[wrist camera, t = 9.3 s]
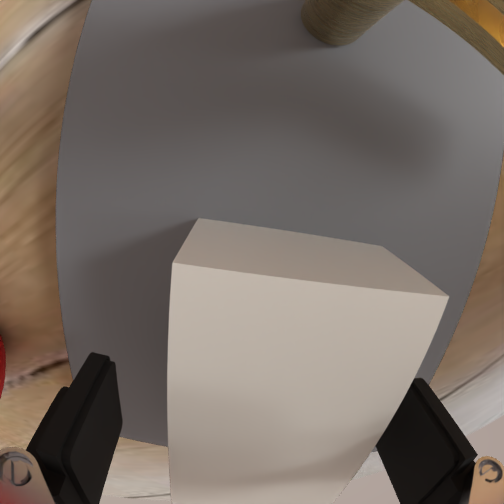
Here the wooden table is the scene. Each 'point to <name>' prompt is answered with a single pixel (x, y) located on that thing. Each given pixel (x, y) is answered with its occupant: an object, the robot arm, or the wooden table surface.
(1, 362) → the apple
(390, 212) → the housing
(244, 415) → the white rectangular block
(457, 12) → the key
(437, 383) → the wooden table surface
